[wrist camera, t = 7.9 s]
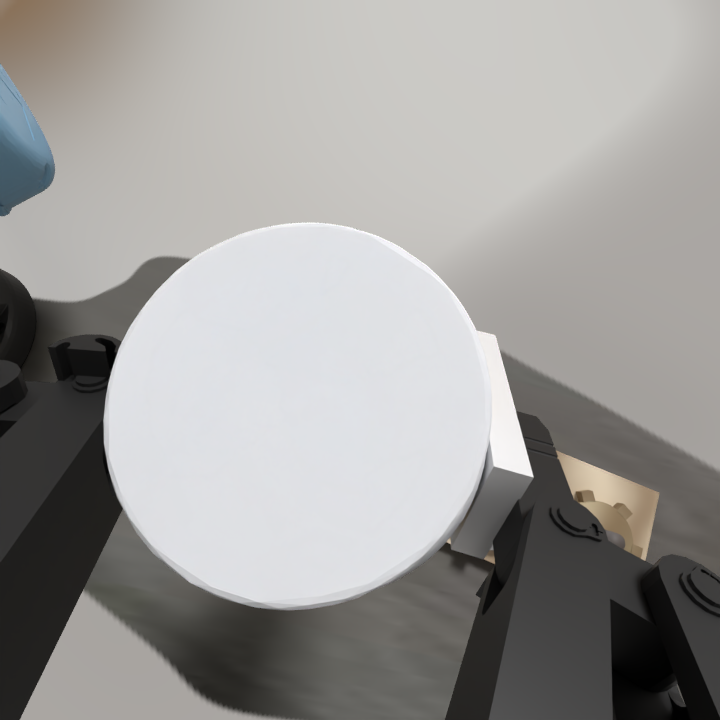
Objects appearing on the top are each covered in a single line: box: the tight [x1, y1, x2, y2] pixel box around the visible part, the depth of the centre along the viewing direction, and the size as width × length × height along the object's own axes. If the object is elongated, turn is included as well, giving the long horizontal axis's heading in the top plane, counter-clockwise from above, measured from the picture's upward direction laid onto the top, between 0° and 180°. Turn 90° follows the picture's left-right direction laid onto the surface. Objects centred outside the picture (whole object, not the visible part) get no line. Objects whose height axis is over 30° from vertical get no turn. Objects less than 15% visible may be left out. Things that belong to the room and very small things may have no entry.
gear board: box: [447, 451, 659, 564], centre depth 28 cm, size 19×10×4 cm, turn 67°
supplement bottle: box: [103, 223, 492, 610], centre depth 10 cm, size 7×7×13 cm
